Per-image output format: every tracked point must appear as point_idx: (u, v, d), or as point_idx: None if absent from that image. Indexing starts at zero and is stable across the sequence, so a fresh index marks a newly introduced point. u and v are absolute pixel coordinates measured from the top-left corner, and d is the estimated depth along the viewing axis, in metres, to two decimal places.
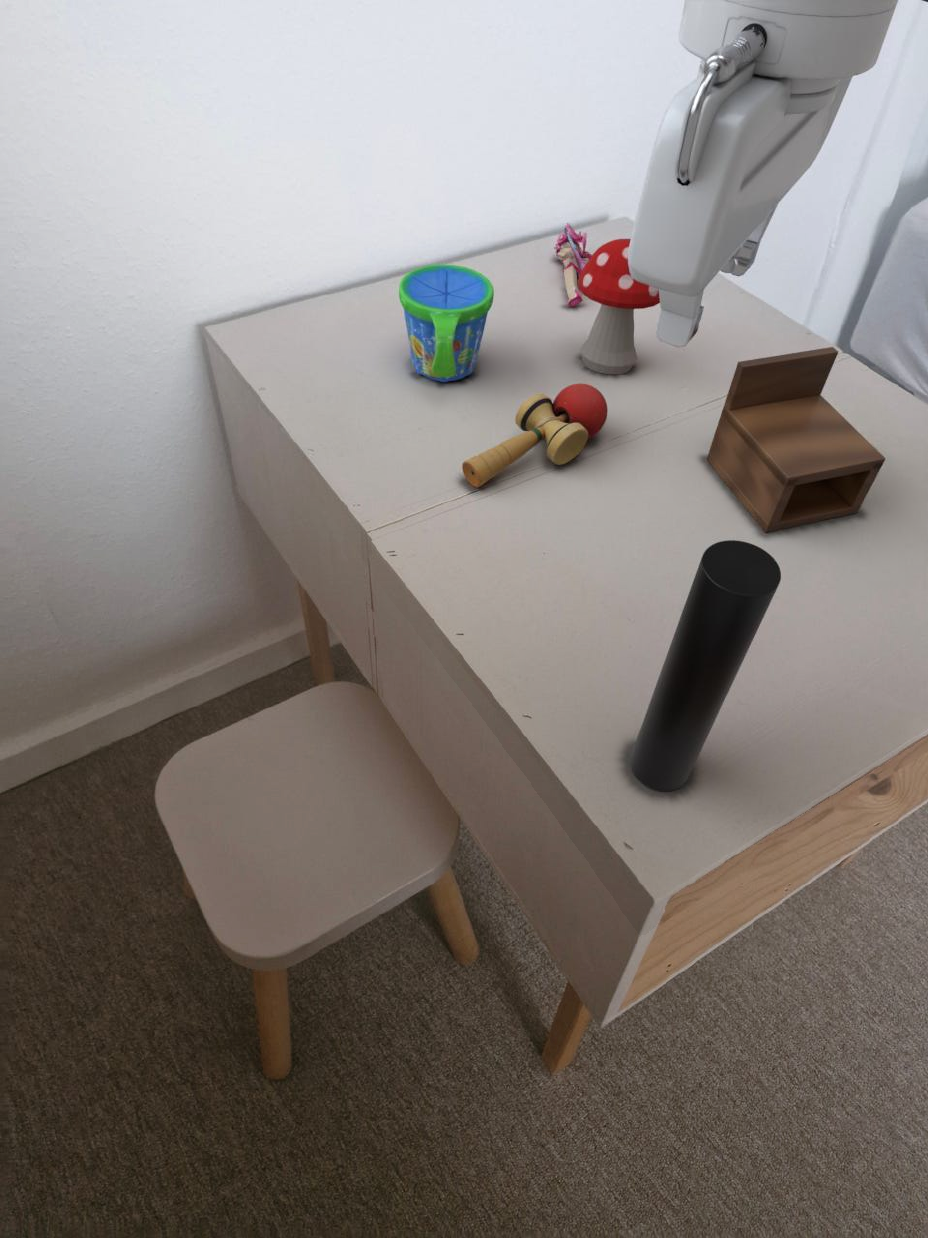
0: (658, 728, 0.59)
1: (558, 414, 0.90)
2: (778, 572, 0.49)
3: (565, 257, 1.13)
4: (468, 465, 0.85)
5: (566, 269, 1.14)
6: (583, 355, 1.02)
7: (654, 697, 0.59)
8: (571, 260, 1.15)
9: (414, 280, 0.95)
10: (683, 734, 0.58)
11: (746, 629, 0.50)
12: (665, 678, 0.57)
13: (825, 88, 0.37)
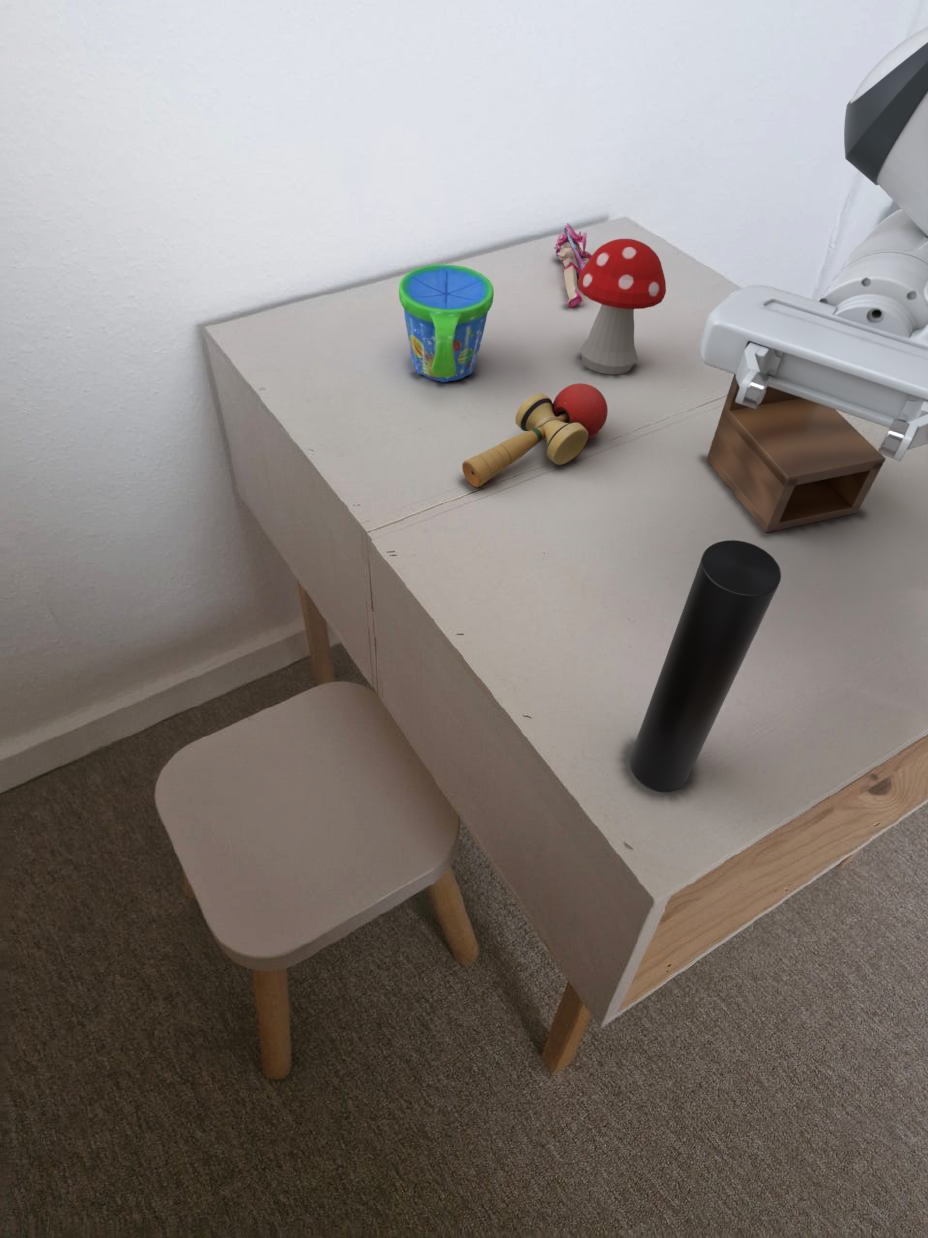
0: (658, 728, 0.59)
1: (558, 414, 0.90)
2: (778, 572, 0.49)
3: (565, 257, 1.13)
4: (468, 465, 0.85)
5: (566, 269, 1.14)
6: (583, 355, 1.02)
7: (654, 697, 0.59)
8: (571, 260, 1.15)
9: (414, 280, 0.95)
10: (683, 734, 0.58)
11: (746, 629, 0.50)
12: (665, 678, 0.57)
13: (864, 300, 0.59)
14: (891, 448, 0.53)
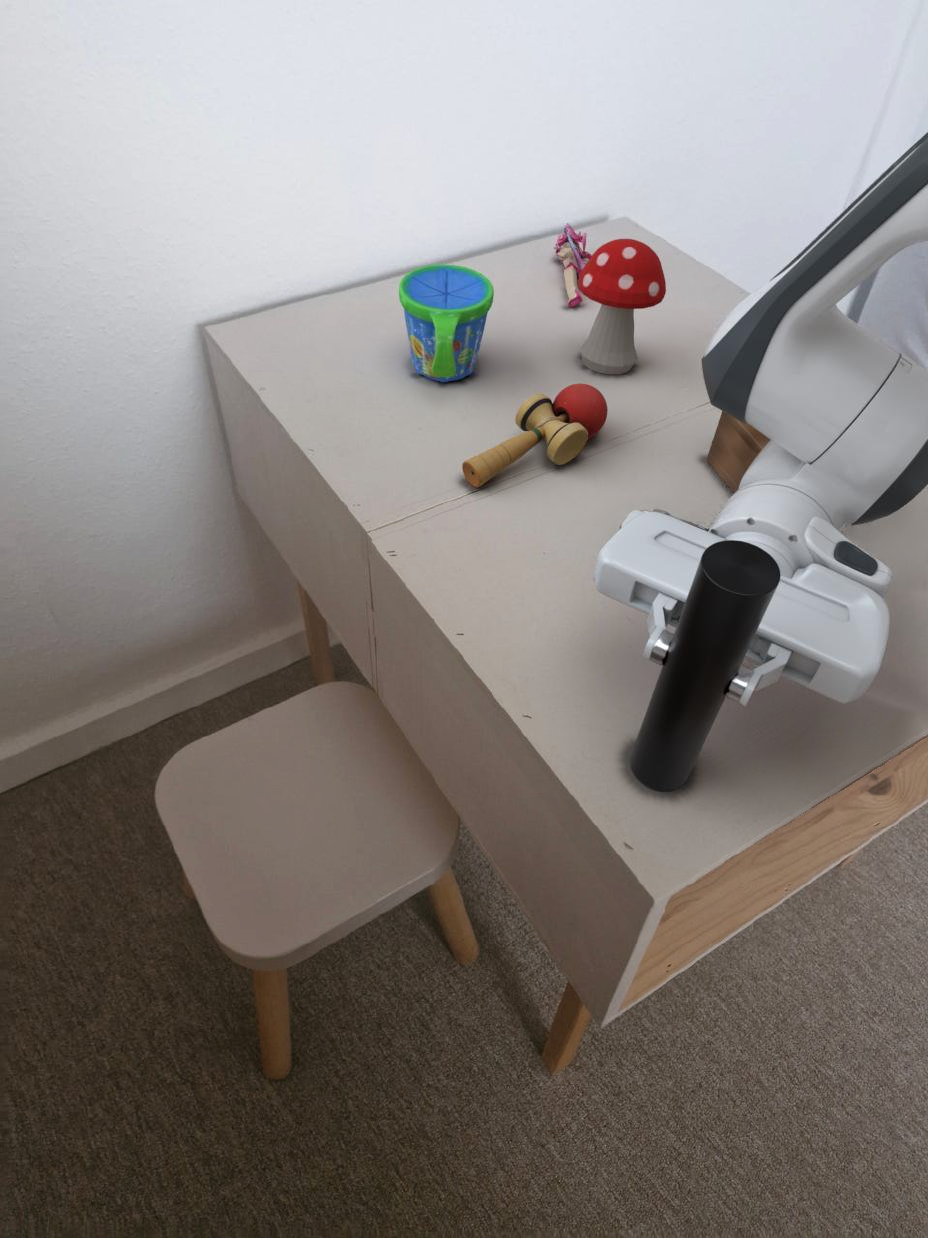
0: (658, 728, 0.59)
1: (558, 414, 0.90)
2: (778, 572, 0.49)
3: (565, 257, 1.13)
4: (468, 465, 0.85)
5: (566, 269, 1.14)
6: (583, 355, 1.02)
7: (654, 697, 0.59)
8: (571, 260, 1.15)
9: (414, 280, 0.95)
10: (683, 734, 0.58)
11: (745, 629, 0.50)
12: (665, 677, 0.57)
13: (749, 539, 0.61)
14: (736, 695, 0.55)
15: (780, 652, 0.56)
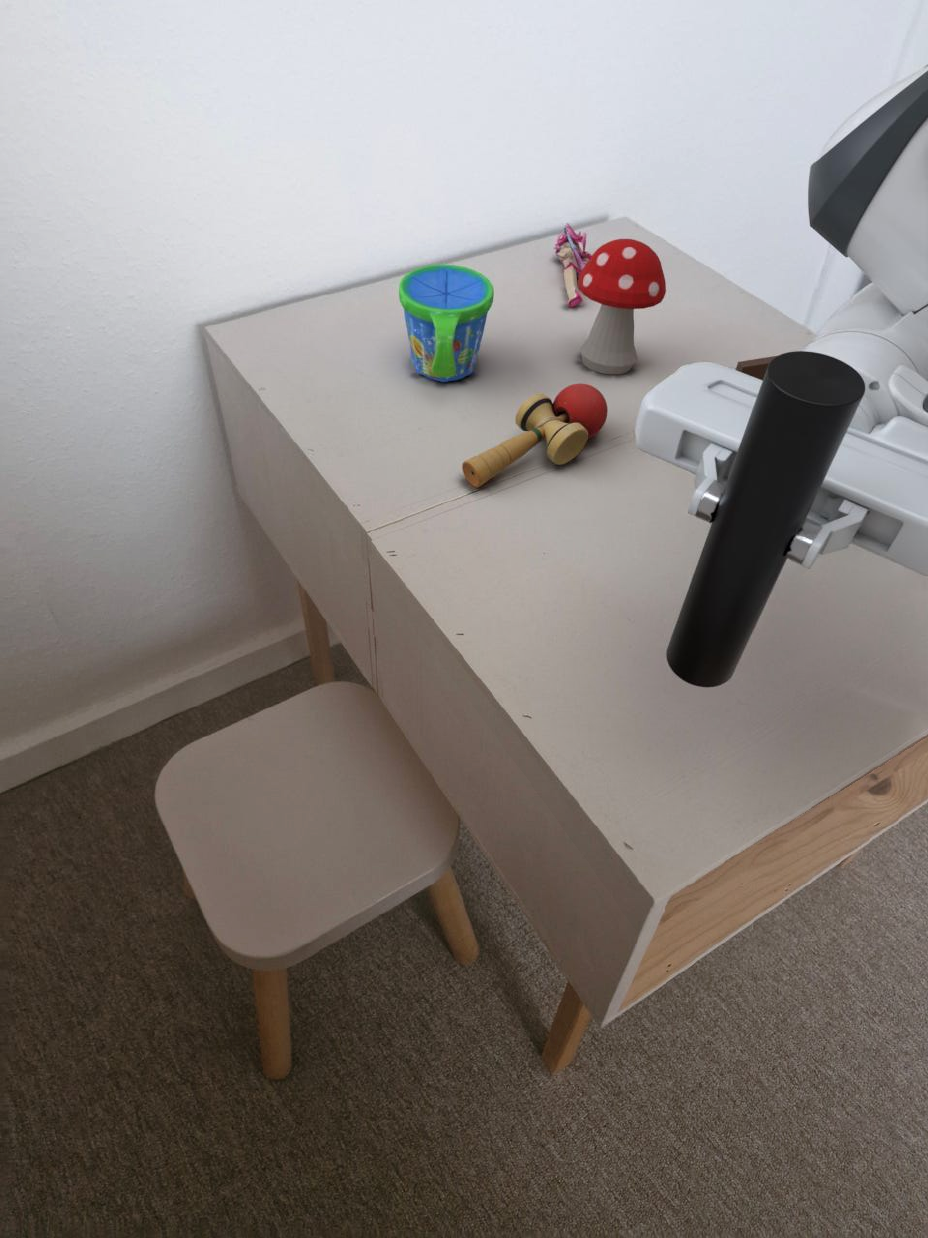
0: (702, 602, 0.51)
1: (558, 414, 0.90)
2: (862, 384, 0.40)
3: (565, 257, 1.13)
4: (468, 465, 0.85)
5: (566, 269, 1.14)
6: (583, 355, 1.02)
7: (699, 565, 0.50)
8: (571, 260, 1.15)
9: (414, 280, 0.95)
10: (731, 608, 0.50)
11: (817, 457, 0.41)
12: (714, 535, 0.48)
13: None
14: (798, 554, 0.46)
15: (854, 509, 0.47)
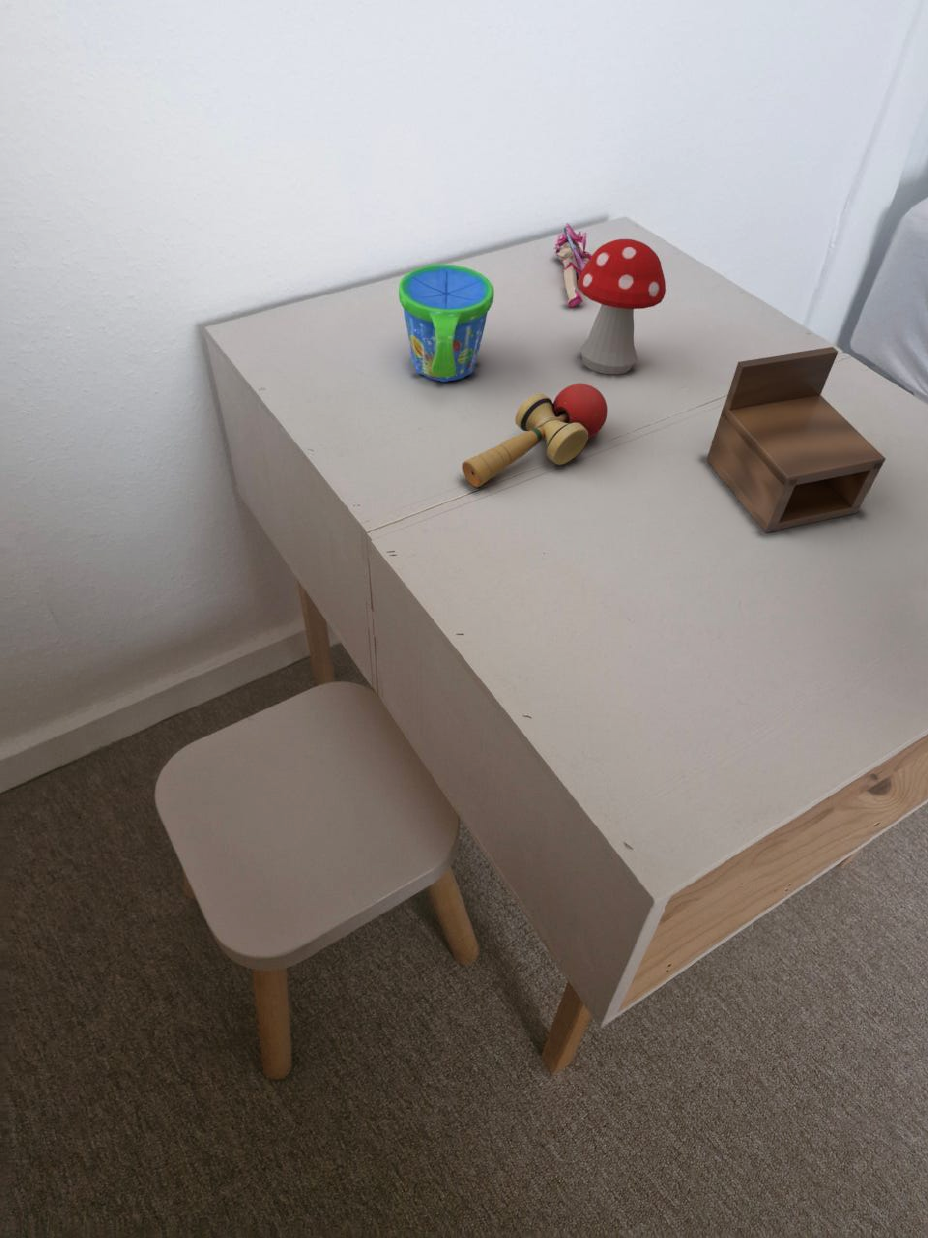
0: None
1: (558, 414, 0.90)
2: None
3: (565, 257, 1.13)
4: (468, 465, 0.85)
5: (566, 269, 1.14)
6: (583, 355, 1.02)
7: None
8: (571, 260, 1.15)
9: (414, 280, 0.95)
10: None
11: None
12: None
13: None
14: None
15: None
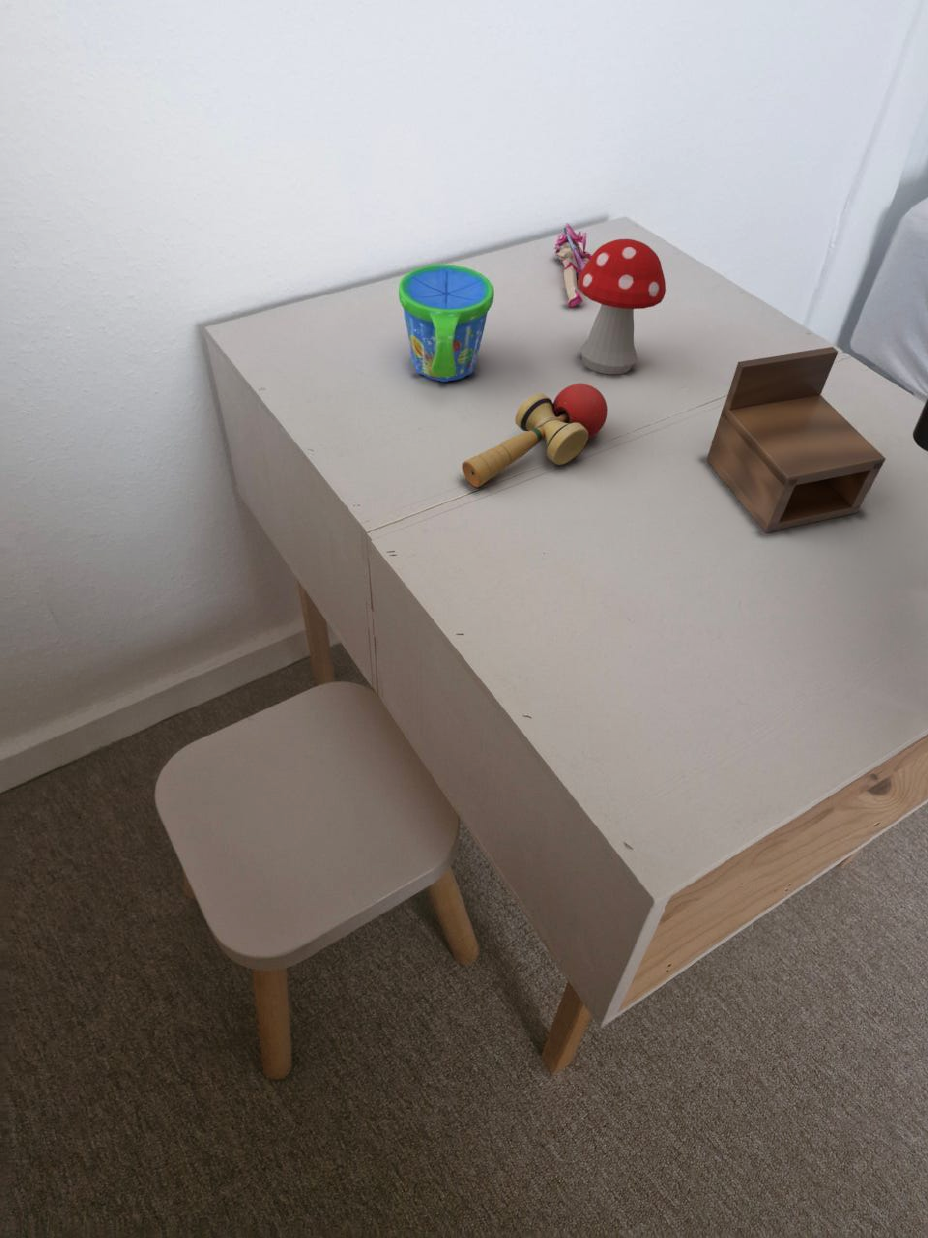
0: None
1: (558, 414, 0.90)
2: None
3: (565, 257, 1.13)
4: (468, 465, 0.85)
5: (566, 269, 1.14)
6: (583, 355, 1.02)
7: None
8: (571, 260, 1.15)
9: (414, 280, 0.95)
10: None
11: None
12: None
13: None
14: None
15: None
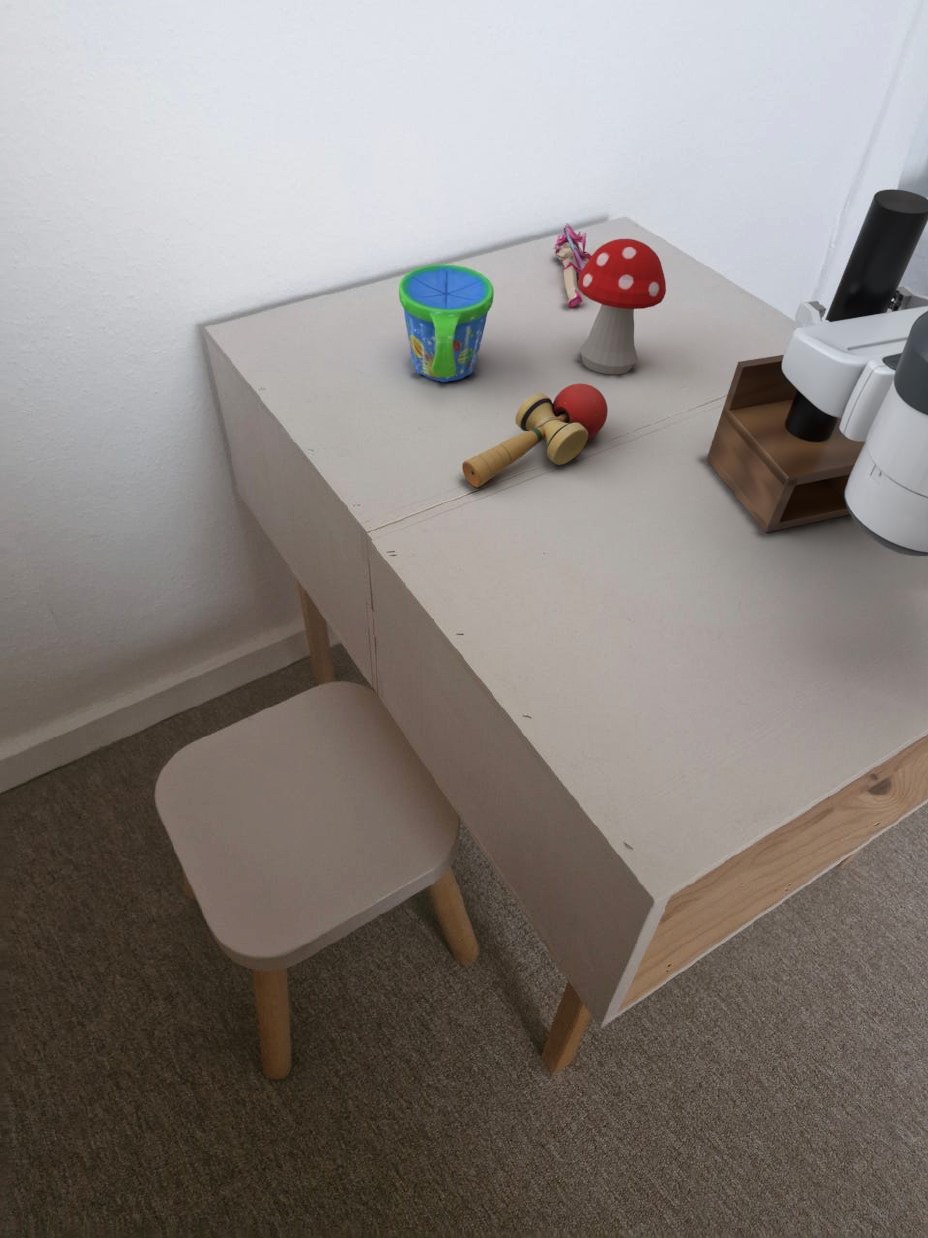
0: None
1: (558, 414, 0.90)
2: (889, 207, 0.67)
3: (565, 257, 1.13)
4: (468, 465, 0.85)
5: (566, 269, 1.14)
6: (583, 355, 1.02)
7: None
8: (571, 260, 1.15)
9: (414, 280, 0.95)
10: None
11: None
12: None
13: None
14: None
15: None
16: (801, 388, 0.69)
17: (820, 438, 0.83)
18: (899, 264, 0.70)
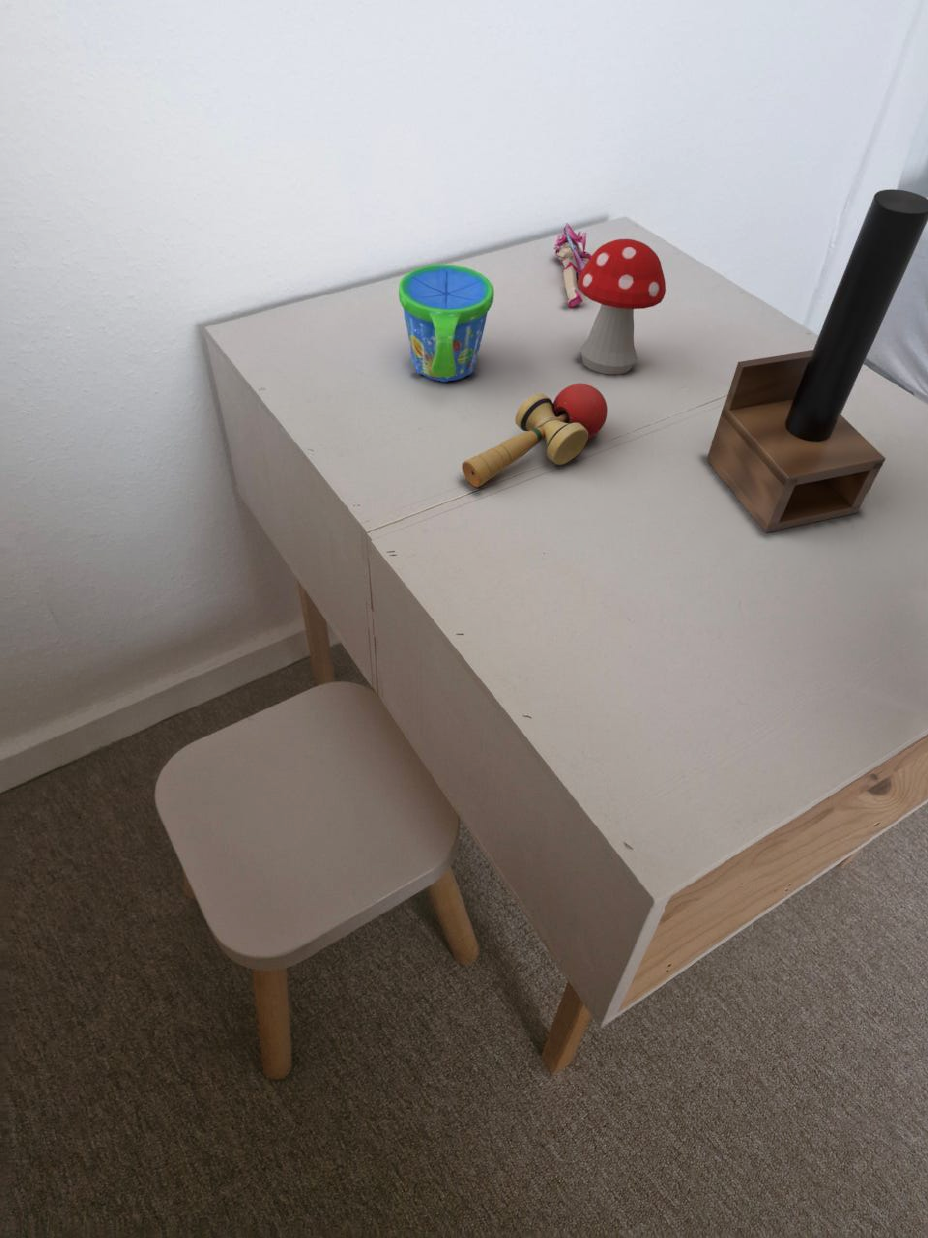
0: None
1: (558, 414, 0.90)
2: (889, 207, 0.67)
3: (565, 257, 1.13)
4: (468, 465, 0.85)
5: (566, 269, 1.14)
6: (583, 355, 1.02)
7: None
8: (571, 260, 1.15)
9: (414, 280, 0.95)
10: None
11: None
12: None
13: None
14: None
15: None
16: None
17: (820, 438, 0.83)
18: (899, 264, 0.70)
